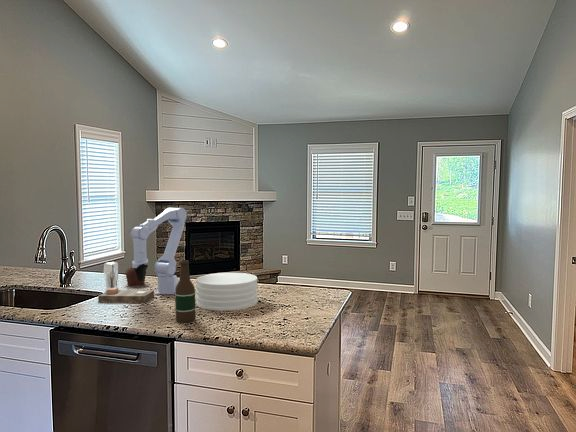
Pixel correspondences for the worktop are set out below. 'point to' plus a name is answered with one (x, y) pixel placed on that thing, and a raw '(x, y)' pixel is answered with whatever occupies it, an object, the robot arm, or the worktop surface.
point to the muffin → (133, 278)
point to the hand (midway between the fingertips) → (140, 280)
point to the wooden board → (126, 296)
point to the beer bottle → (185, 296)
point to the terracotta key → (112, 291)
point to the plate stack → (226, 291)
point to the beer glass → (111, 274)
